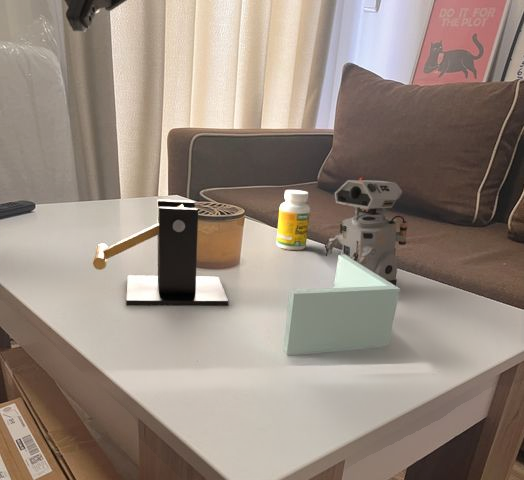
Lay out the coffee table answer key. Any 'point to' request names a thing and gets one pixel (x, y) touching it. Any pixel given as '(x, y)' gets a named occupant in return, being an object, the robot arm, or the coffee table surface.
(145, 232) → the tap lever
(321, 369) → the coffee table surface
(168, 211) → the bracket
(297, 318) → the l-shaped corner panel
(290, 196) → the supplement bottle
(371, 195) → the figurine
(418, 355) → the coffee table surface
